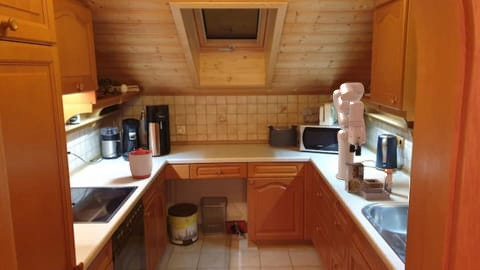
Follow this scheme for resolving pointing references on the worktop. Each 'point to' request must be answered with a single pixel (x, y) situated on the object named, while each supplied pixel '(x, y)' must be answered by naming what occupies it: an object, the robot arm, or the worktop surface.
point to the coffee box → (354, 177)
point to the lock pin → (388, 180)
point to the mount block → (372, 184)
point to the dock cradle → (374, 194)
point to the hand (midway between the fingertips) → (355, 154)
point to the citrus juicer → (140, 163)
